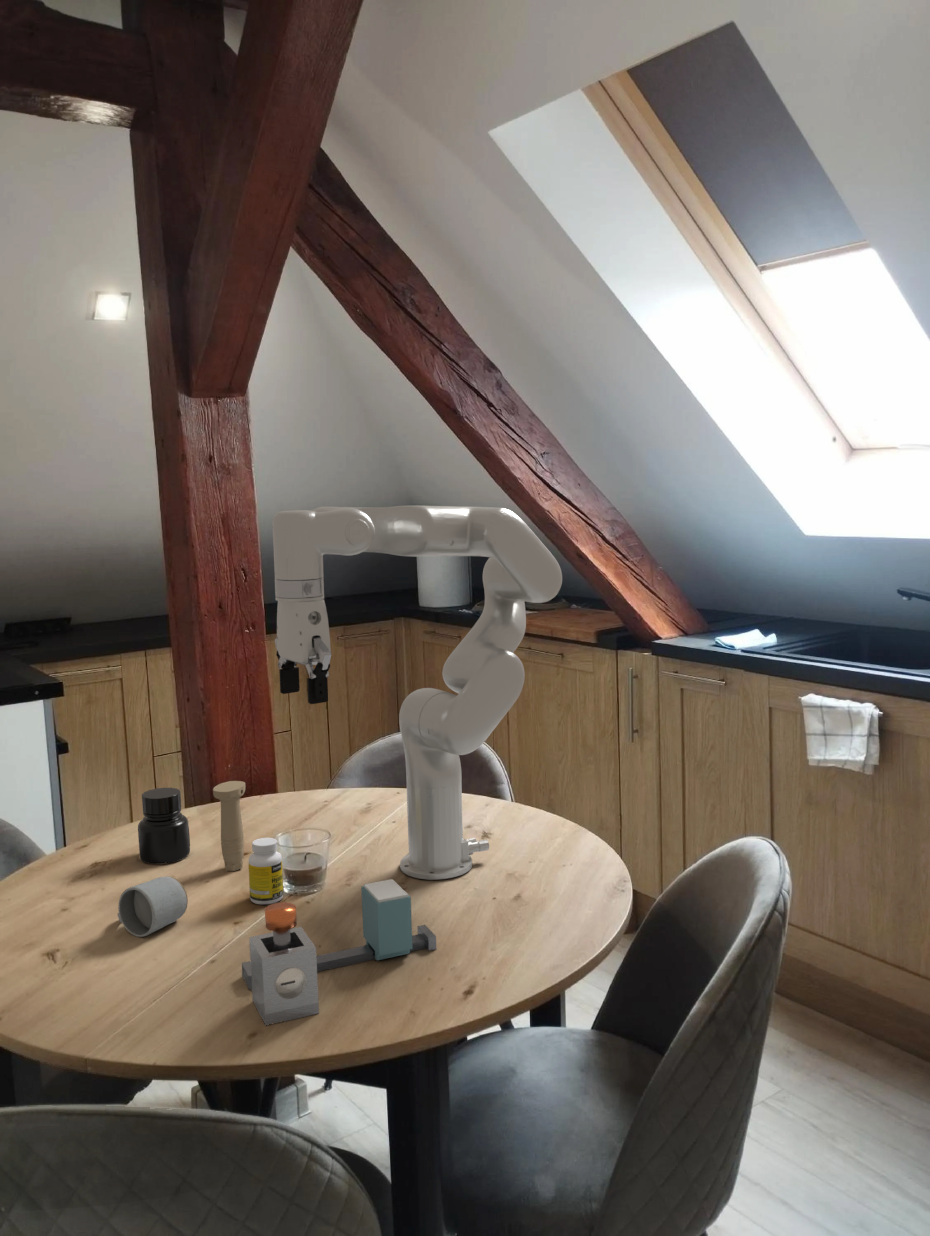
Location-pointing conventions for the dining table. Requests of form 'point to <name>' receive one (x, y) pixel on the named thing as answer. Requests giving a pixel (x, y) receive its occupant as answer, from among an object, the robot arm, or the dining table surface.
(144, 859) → the ink bottle
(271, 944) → the grey button box
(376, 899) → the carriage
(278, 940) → the plunger
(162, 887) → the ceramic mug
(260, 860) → the supplement bottle
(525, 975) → the dining table surface
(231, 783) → the handle
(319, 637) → the robot arm
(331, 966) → the rail
